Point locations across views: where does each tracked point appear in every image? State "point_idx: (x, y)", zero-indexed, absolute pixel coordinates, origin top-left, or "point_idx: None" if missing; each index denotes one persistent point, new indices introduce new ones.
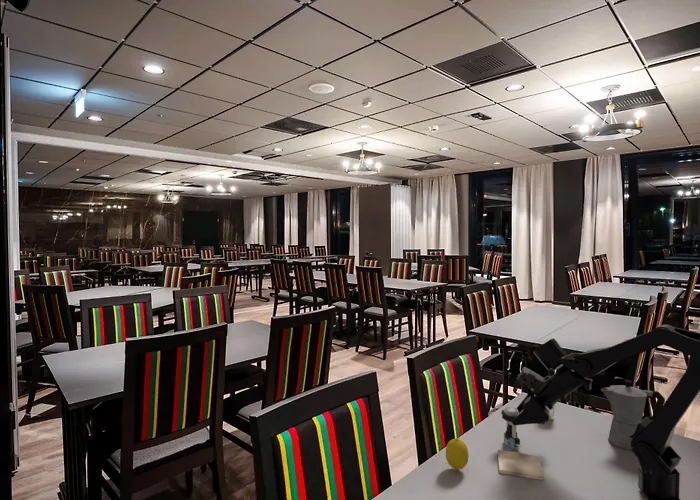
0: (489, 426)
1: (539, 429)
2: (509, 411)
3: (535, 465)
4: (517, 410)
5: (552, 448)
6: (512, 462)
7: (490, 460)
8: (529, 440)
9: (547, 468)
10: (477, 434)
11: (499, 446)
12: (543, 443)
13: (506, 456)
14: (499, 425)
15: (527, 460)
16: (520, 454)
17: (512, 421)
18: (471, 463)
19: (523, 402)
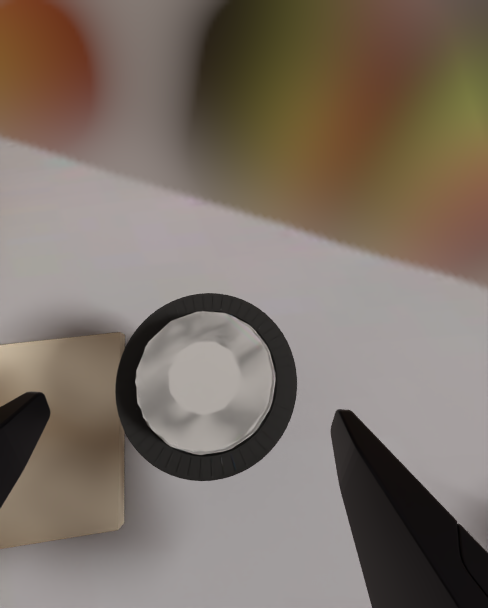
0: (361, 282)
1: (471, 521)
2: (148, 359)
3: (9, 516)
4: (209, 440)
5: (273, 603)
6: None
7: (50, 312)
8: (309, 469)
9: (39, 573)
10: (259, 245)
11: None
12: (310, 548)
13: (67, 372)
14: (396, 321)
15: (54, 472)
16: (105, 435)
17: (17, 398)
18: (8, 251)
19: (397, 525)
